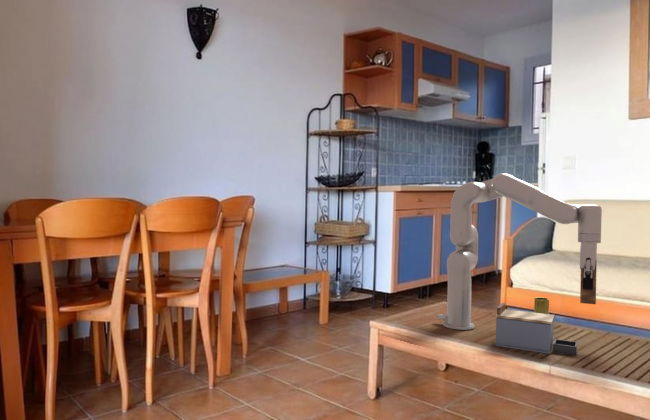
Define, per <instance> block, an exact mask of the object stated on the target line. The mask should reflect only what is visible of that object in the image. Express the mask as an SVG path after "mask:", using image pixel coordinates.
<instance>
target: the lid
mask: <svg viewBox="0 0 650 420" xmlns="http://www.w3.org/2000/svg"><path fill="white" fill-rule="evenodd" d="M555 316H556V315H555V314H550V313H549V314H542V313H534V311H533V312H531V311H525V310H523V311H522V310H514V309H507V308H506V303H505V302H502V303H500V304H499V305H498V306H497V307H496V314H495V316H494V317H495V319H496V318H505V319H513V320H521V321H529V322H537V323H545V324H552V322H553V320H555Z"/></svg>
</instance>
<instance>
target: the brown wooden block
mask: <svg viewBox="0 0 650 420" xmlns="http://www.w3.org/2000/svg"><path fill="white" fill-rule="evenodd" d="M586 261H587V258H586ZM590 263H591V258H590ZM597 263H598V262H597V258H596V264H595V270H593V272H592V279H593V289H592V290H588V289H583V278H584V268H581V269H582V270H581V269H580V290H579V293H580V295H579V297H580V299H579V302H580V304H588V305H597V304H596V303H597V266H598V265H597ZM591 266H592V265H591ZM585 269H586V268H585ZM590 270H591V268H590Z"/></svg>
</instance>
